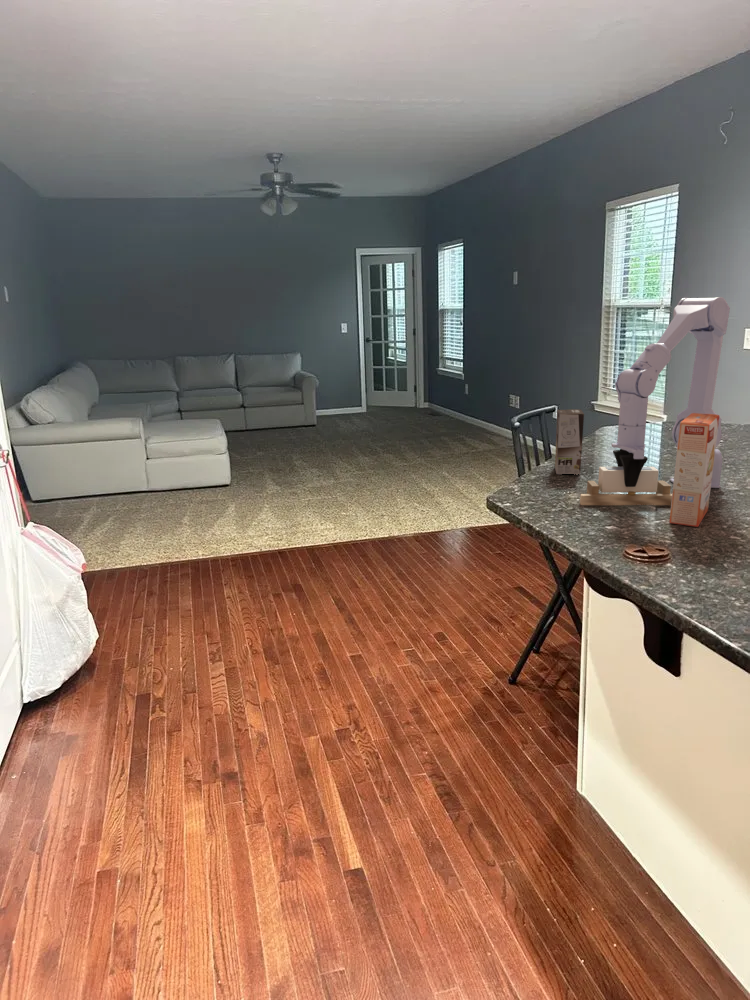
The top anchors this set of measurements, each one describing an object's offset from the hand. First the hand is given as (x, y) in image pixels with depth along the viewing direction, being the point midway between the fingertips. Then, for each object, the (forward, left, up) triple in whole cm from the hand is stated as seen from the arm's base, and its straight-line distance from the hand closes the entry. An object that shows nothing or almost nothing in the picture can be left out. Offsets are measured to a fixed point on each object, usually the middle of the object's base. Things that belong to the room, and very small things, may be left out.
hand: (627, 483), depth 159 cm
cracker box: (-9, +13, -4) cm, 17 cm away
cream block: (0, 0, -2) cm, 2 cm away
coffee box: (+8, -29, -4) cm, 30 cm away
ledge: (0, +1, -4) cm, 4 cm away
